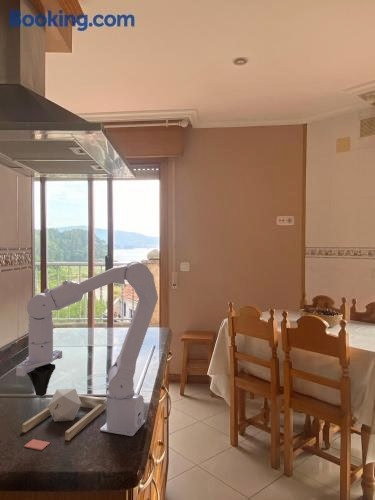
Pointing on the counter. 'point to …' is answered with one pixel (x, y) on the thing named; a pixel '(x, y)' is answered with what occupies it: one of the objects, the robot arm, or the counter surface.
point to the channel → (88, 402)
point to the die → (64, 405)
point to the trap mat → (37, 444)
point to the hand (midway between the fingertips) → (40, 394)
